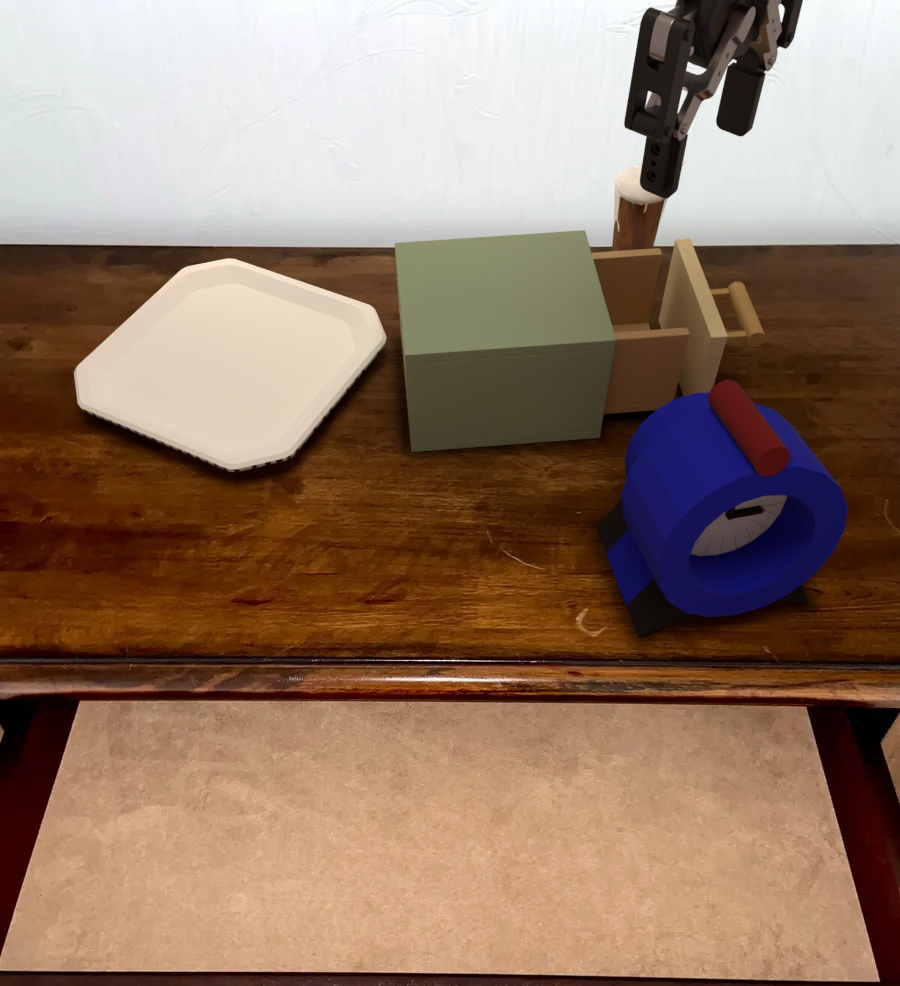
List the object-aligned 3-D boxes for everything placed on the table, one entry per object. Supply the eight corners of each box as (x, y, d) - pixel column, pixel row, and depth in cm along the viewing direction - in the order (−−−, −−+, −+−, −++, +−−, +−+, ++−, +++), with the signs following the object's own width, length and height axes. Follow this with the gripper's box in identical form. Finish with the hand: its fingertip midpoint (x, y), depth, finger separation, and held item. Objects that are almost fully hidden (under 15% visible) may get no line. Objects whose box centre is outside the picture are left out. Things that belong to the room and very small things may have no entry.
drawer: (721, 316, 80) (744, 234, 73) (758, 412, 73) (786, 331, 67) (512, 330, 79) (516, 249, 72) (531, 429, 72) (537, 349, 66)
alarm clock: (641, 645, 62) (684, 496, 50) (587, 505, 69) (614, 344, 57) (814, 612, 64) (898, 459, 51) (745, 478, 71) (805, 315, 58)
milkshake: (668, 282, 84) (690, 176, 75) (608, 285, 83) (624, 180, 75) (657, 250, 86) (678, 145, 78) (599, 254, 86) (613, 148, 78)
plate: (55, 412, 75) (45, 391, 74) (208, 267, 86) (203, 245, 84) (271, 502, 70) (266, 482, 68) (407, 336, 80) (406, 314, 78)
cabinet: (573, 330, 80) (585, 229, 72) (599, 438, 73) (616, 339, 65) (401, 342, 80) (394, 242, 72) (411, 452, 72) (404, 354, 65)
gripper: (756, -99, 40) (685, 239, 53) (906, -195, 46) (808, 130, 59) (609, -140, 43) (577, 191, 56) (769, -225, 49) (705, 92, 62)
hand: (696, 159), depth 58 cm, fingers open, 8 cm apart
